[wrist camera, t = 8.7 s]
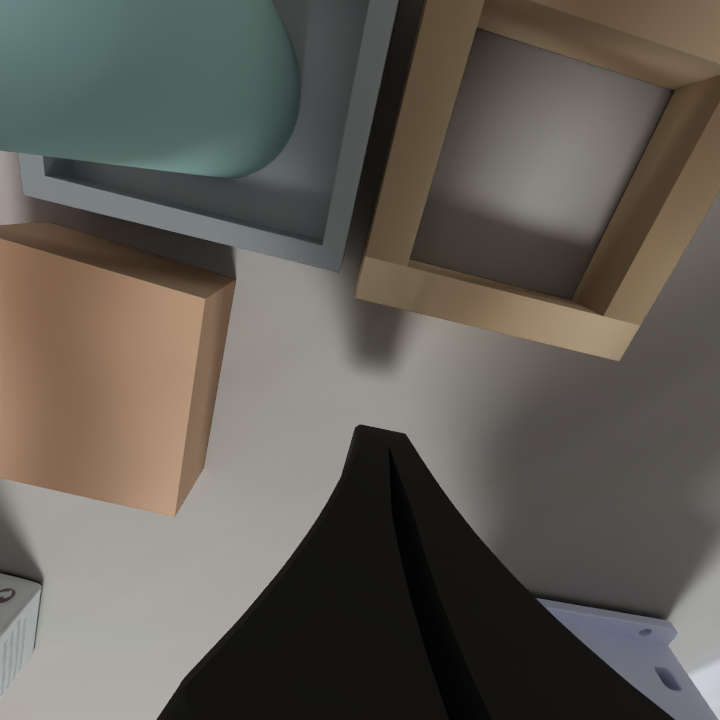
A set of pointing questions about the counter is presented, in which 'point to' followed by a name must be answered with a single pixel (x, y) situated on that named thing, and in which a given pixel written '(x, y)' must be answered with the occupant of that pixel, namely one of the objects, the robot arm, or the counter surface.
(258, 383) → the counter surface
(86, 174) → the tray
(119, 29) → the teal capsule
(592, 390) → the counter surface
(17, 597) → the skincare box
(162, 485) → the tan cardboard block
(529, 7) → the socket block
